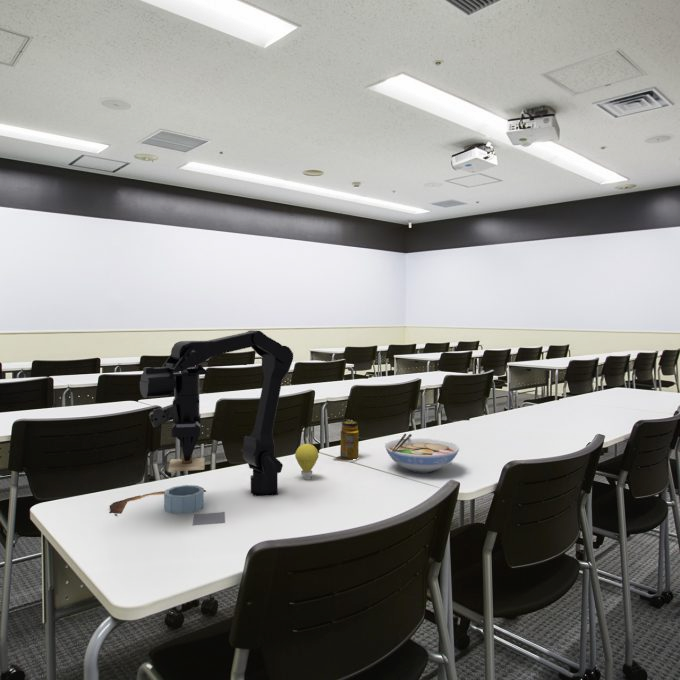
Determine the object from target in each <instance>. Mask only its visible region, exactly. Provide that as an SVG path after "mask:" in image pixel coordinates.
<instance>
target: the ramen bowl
mask: <svg viewBox="0 0 680 680" xmlns="http://www.w3.org/2000/svg"><path fill="white" fill-rule="evenodd" d="M412 435H413V434H412V433H410V434H408V435H407V433H404V434H403V435H402V436H401V438H400V439H395V440H394V439H393V440H389V441H388V442H385V444H384V448H385V450H386V452H387V454H388V455H389V457H390V458H391V459H392V460H393V461H394V462H395V463H396V464H398V465H399V466H400V467H402V468H405V469H408V470H409V471H411V472H413V473H421V474H425V473H431V472H434V471H436V470H440V469H443V468H444V467H446V466H448V465H449V464H450V463H452V461H453V460H454V459H455V458H456V456H457V455H458V452H459V451H460V447H459V445H457V444H456V443H453V442H449V441H445V440H440V439H435V438H434V439H432V438H421V437H420V438H418V437H417V438H414V437H412Z"/></svg>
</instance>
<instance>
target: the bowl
mask: <svg viewBox="0 0 680 680" xmlns="http://www.w3.org/2000/svg"><path fill="white" fill-rule="evenodd" d="M204 490H205V488H204V487H202V486H200V485H195V484H194V485H193V484H191V485H190V484H185V485H184V484H183V485H179V486H178V485H177V486H172V487H170V488H168V489H165V490H164V491H165V493H164V494H163V499H164V500H163V506H164V507H163V508H164V511H165V512H167V513H170V514H176V515H177V514H178V515H179V514H180V515H182V514H183V515H185V514H190V513H194V512H198V511H201V510H202V509H203V508H204V504H205V502H204V501H205V500H204V499H205V492H204Z"/></svg>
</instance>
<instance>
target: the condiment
mask: <svg viewBox="0 0 680 680" xmlns="http://www.w3.org/2000/svg"><path fill="white" fill-rule="evenodd" d="M358 424H359V423H358V421H352V420H346V421H342V422H341V430H340V455H339V456H336V457H334V458H333V460H334V461H335V460H336V461H340V462H349V463H355V462H356V461H358V460H359V459H357V458H358V457H359V456H360V457H361V458H363V455H359V443H360V442H359V437H360V436H359V433H360V431H359V429H358ZM353 459H356V460H353Z"/></svg>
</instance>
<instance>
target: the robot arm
mask: <svg viewBox="0 0 680 680" xmlns="http://www.w3.org/2000/svg"><path fill="white" fill-rule="evenodd" d="M249 348H251V349H253V351H254V352H255V353H256V354H257V355H258V356H260V357H261V368H262V372H263V373H262V374H263V382H262V388H261V390H260V391H261V392H260V398H259V402H258V408H257V413H256V418H255V422H254V423H255V424H254V428H253V431H252V432H251V433H250V435H249V436H247V435H244V437H243V444H242V445H243V446H242V447H241V450H240V451H241V452H242V458H243V459H244V461H245V462H246V464H247V465H248V468H249V469H250V470H251V469H252V474H251V475H250V494H252V496H253V497H267V496H278V495H279V492H278V474H280V473H281V472H282V469H283V467H284V464H283V463H282V462H281V461H280V460H279V459H278V458H277V457H276V456H275V454H276V453H275V450H276V449H275V448H276V446H275V439H274V437H273V430H274V425H275V421H276V414H277V409H278V405H279V399H280V398H279V397H280V394H281V390H282V385H283V384H282V383H283V380H284V378H285V377H286V376H287V374H288V373H289V371H290V369H291V367H292V363H293V359H294V352H293V351H292V349H291V348H290V347H289V346H287V345H282V344H281V343H280V342H278V341H276V340H274V339H273V338H271V337H270V336H267V335H266V334H265V333H264V332H262V331H261V330H254V329H253V330H248V331H245V332H242V333H238V334H237V333H235V334H232V335H227V336H223V337H218V338H214V339H210V340H209V339H208V340H181V341H177V342H175V343H174V345H173V346H172V347H171V351H170V355H169V356H168V358H167V359H166V361H164V363H163V365H162V366H161V367H150V366H149V367H148V366H147V367H143V369H142V374H141V376H140V381H139V391H140V395H141V396H142V398H144V399H145V398H157V397H168V396H170V395H171V394H172V393H173V392H174V398H173V400H172V403H171V404H169V405H167V406H163V407H158V408H156V409H155V408H153V410H152V411H150V412H149V414H148V416H149V422H150V423H151V425H152V427H153V428H157V427H159V426H160V425H163V424H166V423H168V422H170V421H172V423H174V424H172V426H171V438H176V439H178V440H179V442H180V446H181V452H182V451H183V455H184V460H185V461H189V460H190V458H191V455H192V456H193V452H194V450H195V448H196V445H197V442H198V440H199V437H200V436H201V422H202V421H201V419H202V418H201V413H200V375H201V376H202V375H203V376H204V375H208V374H209V370H208V371H207V370H206V369H205V368H204V367H203V366H202V364H203V363H205V362H207V361H208V360H210V359H211V358H213V357H216V356H218V355H222V354H223V355H224V354H227V353H232V352H236V351H240V350H244V349H249Z"/></svg>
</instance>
